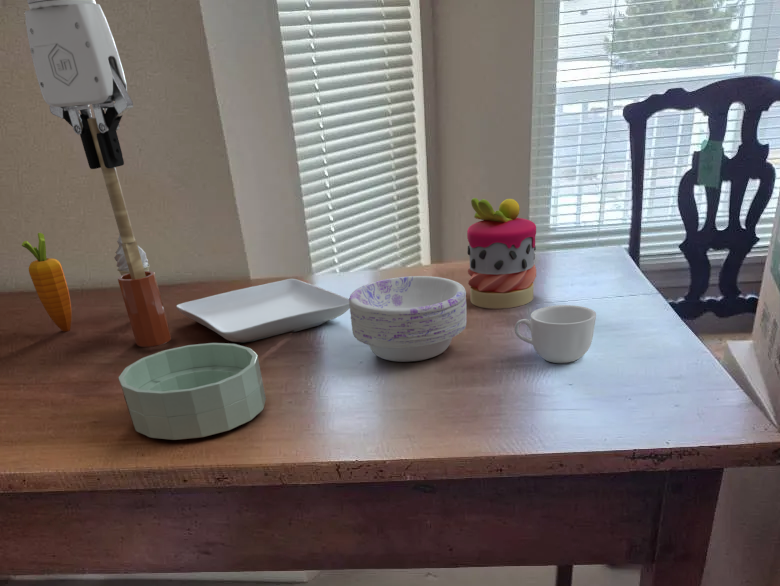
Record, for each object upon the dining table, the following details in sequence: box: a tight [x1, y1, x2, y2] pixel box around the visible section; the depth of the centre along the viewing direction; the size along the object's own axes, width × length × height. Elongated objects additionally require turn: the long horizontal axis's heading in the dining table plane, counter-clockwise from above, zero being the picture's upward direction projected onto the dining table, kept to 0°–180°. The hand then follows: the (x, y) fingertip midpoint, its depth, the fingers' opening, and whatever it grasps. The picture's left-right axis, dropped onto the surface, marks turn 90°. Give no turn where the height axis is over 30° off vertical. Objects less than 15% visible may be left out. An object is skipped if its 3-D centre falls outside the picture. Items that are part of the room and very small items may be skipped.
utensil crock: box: [117, 270, 172, 348], centre depth 106 cm, size 5×5×10 cm
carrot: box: [21, 232, 73, 332], centre depth 113 cm, size 5×5×15 cm
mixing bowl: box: [117, 342, 267, 441], centre depth 84 cm, size 15×15×6 cm
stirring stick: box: [87, 117, 146, 279], centre depth 98 cm, size 2×2×20 cm
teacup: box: [514, 304, 597, 364], centre depth 91 cm, size 10×8×5 cm
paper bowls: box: [348, 275, 468, 363], centre depth 96 cm, size 15×15×8 cm
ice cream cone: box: [114, 234, 151, 276], centre depth 117 cm, size 5×5×15 cm
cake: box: [466, 197, 537, 310], centre depth 111 cm, size 10×10×15 cm
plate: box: [175, 278, 350, 343], centre depth 113 cm, size 21×21×3 cm
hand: (107, 166), depth 96 cm, fingers closed on stirring stick, 1 cm apart
